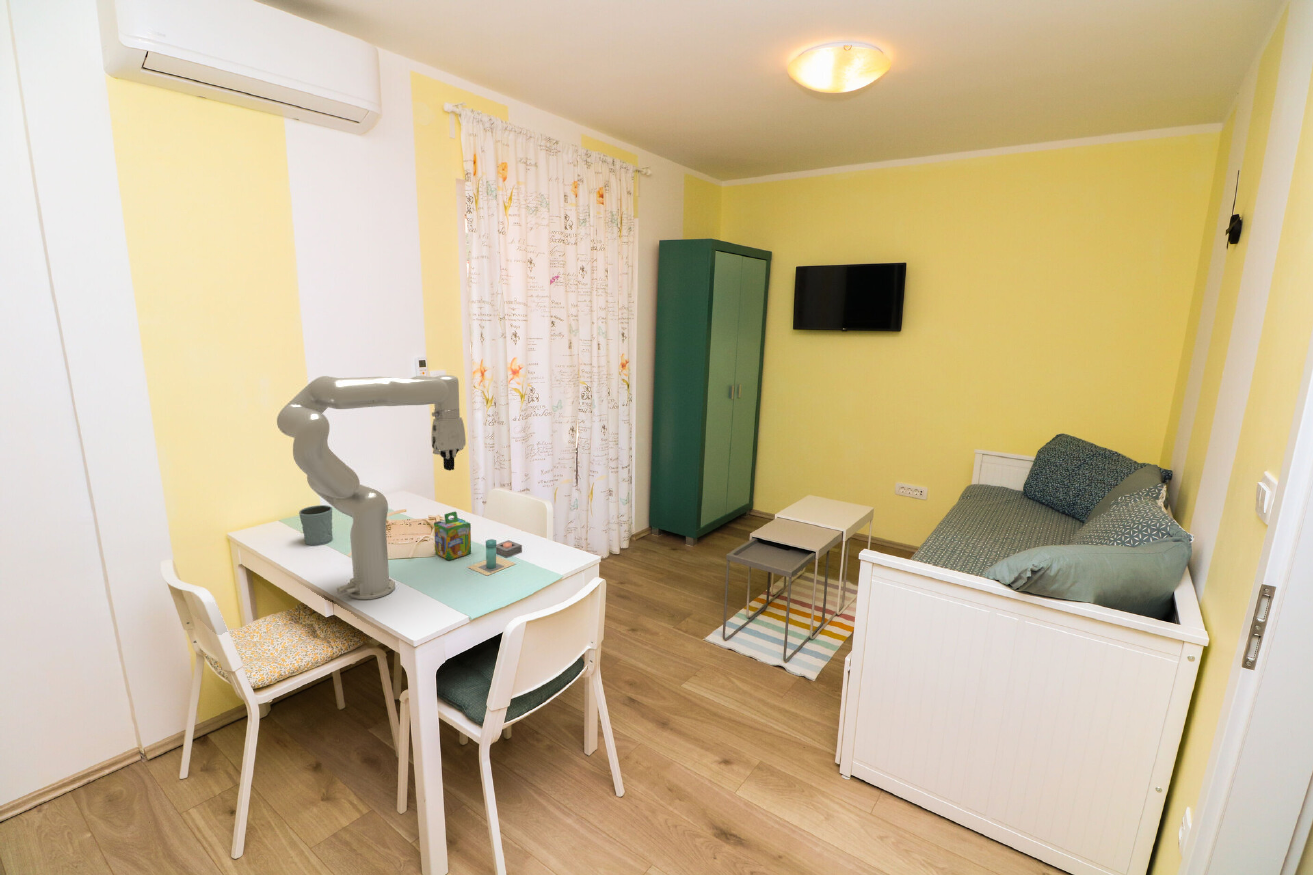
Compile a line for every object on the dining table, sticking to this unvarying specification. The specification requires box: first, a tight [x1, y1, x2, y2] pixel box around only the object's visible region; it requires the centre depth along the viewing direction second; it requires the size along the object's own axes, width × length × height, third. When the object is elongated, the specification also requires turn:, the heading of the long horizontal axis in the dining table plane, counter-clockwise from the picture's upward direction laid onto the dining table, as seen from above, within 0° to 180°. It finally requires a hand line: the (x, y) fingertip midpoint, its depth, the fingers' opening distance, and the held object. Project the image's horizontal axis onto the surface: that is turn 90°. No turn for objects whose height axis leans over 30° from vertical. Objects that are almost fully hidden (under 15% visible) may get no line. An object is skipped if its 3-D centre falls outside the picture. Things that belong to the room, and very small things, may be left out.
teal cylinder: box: [485, 539, 497, 569], centre depth 193 cm, size 3×3×9 cm
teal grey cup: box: [298, 504, 333, 547], centre depth 209 cm, size 10×10×12 cm
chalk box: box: [433, 511, 472, 561], centre depth 203 cm, size 9×9×15 cm
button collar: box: [496, 539, 523, 559], centre depth 207 cm, size 7×7×2 cm
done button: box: [503, 542, 512, 548], centre depth 207 cm, size 3×3×3 cm
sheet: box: [466, 555, 516, 577], centre depth 196 cm, size 12×10×1 cm
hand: (449, 469), depth 192 cm, fingers closed
